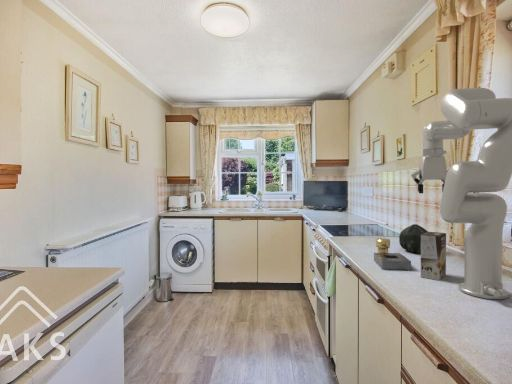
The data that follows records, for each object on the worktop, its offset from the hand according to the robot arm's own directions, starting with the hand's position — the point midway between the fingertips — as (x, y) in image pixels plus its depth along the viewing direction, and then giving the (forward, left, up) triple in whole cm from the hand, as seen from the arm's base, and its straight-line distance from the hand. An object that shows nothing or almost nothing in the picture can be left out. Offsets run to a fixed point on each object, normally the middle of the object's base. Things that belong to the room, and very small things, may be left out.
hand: (432, 193), depth 130 cm
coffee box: (-20, +8, -31) cm, 37 cm away
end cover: (+7, +19, -30) cm, 36 cm away
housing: (-6, +19, -30) cm, 36 cm away
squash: (+20, 0, -31) cm, 36 cm away
